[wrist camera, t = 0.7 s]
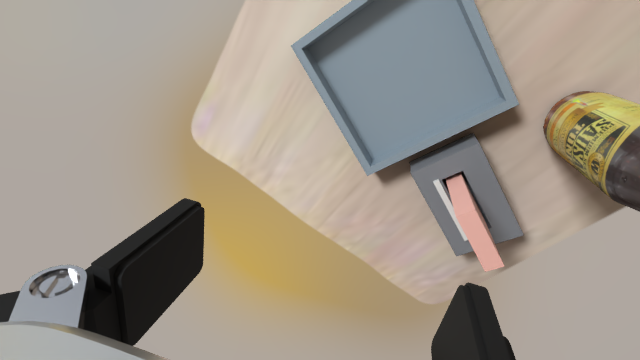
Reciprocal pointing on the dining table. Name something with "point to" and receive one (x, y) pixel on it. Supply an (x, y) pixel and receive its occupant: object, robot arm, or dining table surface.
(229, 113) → the dining table surface
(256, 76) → the dining table surface
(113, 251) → the robot arm
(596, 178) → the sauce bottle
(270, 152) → the dining table surface
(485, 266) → the ticket
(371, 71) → the tray
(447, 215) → the dispenser
